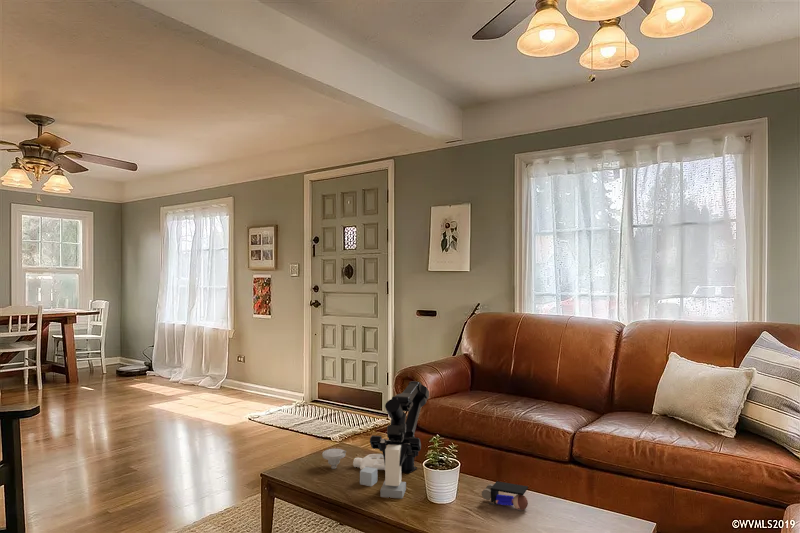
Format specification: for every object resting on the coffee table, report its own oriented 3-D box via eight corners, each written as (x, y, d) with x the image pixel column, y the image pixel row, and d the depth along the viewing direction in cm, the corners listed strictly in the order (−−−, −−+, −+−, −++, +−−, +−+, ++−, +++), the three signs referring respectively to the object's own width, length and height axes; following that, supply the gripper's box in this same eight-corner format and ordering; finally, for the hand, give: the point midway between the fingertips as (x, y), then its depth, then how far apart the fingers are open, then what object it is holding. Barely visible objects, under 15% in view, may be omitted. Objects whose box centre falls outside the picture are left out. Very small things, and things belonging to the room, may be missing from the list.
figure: (403, 462, 207) (361, 460, 214) (400, 449, 205) (358, 447, 212) (394, 481, 197) (350, 478, 204) (391, 467, 195) (346, 464, 202)
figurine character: (482, 509, 172) (525, 514, 165) (479, 486, 173) (522, 491, 166) (489, 501, 178) (531, 506, 171) (486, 479, 179) (528, 483, 171)
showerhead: (343, 454, 201) (319, 453, 203) (343, 472, 201) (319, 471, 203) (349, 446, 211) (326, 445, 212) (349, 464, 211) (326, 462, 212)
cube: (366, 479, 195) (365, 466, 195) (377, 481, 193) (377, 468, 193) (359, 484, 190) (359, 471, 190) (371, 486, 188) (371, 473, 188)
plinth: (385, 488, 187) (384, 480, 187) (406, 490, 186) (406, 481, 186) (380, 497, 179) (380, 489, 179) (402, 499, 178) (402, 491, 178)
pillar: (388, 479, 186) (387, 444, 186) (401, 480, 185) (401, 445, 185) (385, 485, 181) (385, 449, 181) (399, 486, 180) (398, 450, 180)
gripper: (370, 414, 188) (364, 453, 177) (419, 416, 185) (416, 456, 174) (375, 428, 196) (369, 467, 185) (422, 430, 193) (418, 470, 182)
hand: (392, 465), depth 181 cm, fingers open, 5 cm apart
